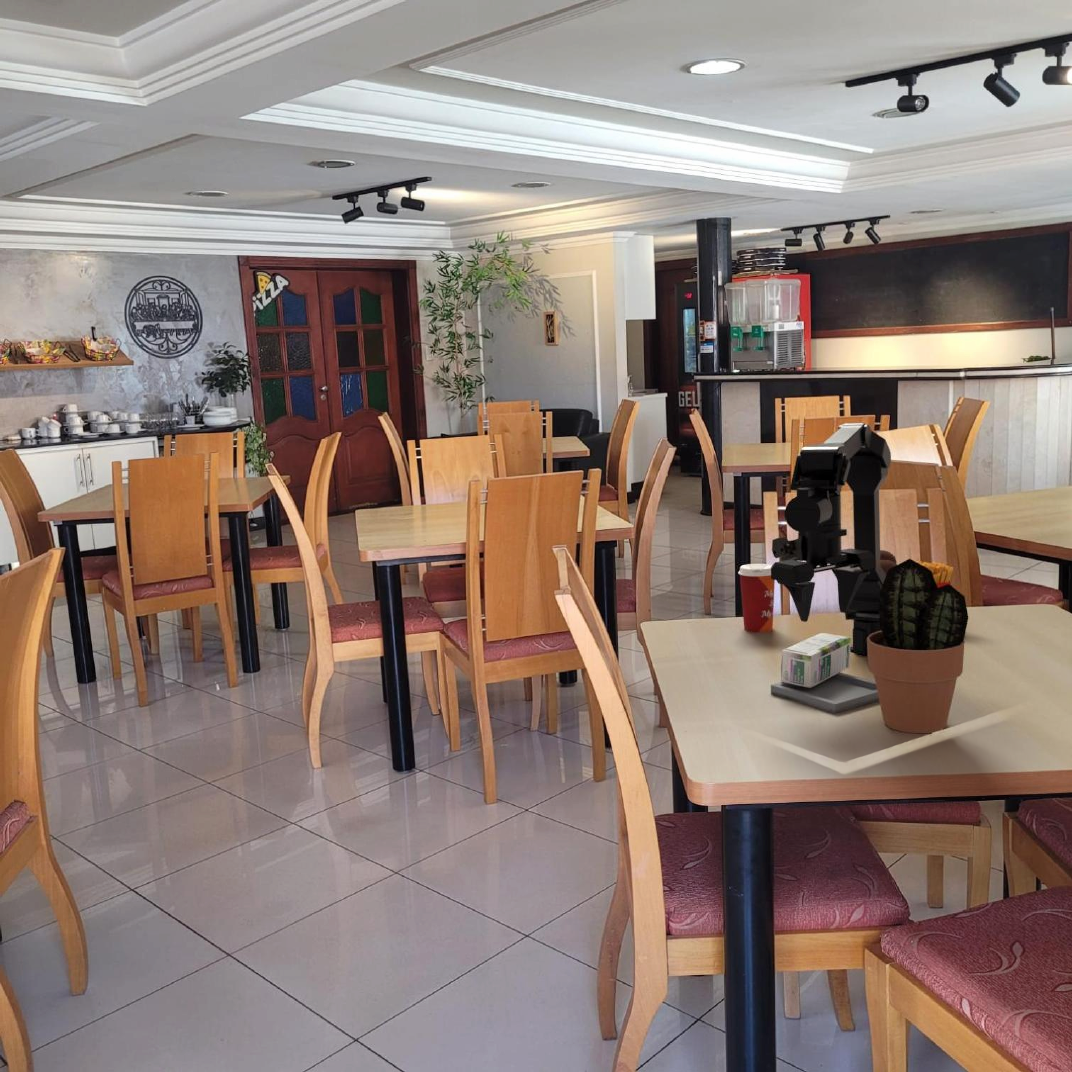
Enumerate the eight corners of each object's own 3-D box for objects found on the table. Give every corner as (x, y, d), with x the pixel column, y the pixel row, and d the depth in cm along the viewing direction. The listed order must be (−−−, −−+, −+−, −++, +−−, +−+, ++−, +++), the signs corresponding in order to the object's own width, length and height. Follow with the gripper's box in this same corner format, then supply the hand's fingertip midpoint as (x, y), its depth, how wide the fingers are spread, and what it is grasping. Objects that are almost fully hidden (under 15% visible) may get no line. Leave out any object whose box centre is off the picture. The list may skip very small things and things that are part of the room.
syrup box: (850, 668, 185) (811, 689, 174) (819, 662, 189) (779, 682, 178) (851, 636, 184) (812, 655, 173) (819, 631, 188) (780, 649, 177)
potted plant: (880, 740, 152) (880, 570, 149) (857, 711, 166) (856, 554, 162) (977, 737, 152) (979, 566, 148) (945, 708, 165) (946, 550, 162)
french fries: (899, 622, 219) (904, 561, 216) (905, 618, 222) (910, 557, 220) (945, 630, 214) (951, 567, 211) (950, 625, 217) (956, 563, 215)
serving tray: (829, 677, 184) (829, 669, 184) (894, 695, 173) (894, 686, 172) (770, 693, 177) (770, 684, 177) (835, 713, 165) (835, 704, 165)
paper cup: (777, 637, 214) (776, 569, 212) (739, 637, 216) (737, 570, 214) (777, 628, 222) (776, 562, 220) (739, 628, 223) (738, 563, 221)
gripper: (825, 513, 184) (825, 600, 186) (745, 525, 174) (747, 618, 176) (876, 518, 175) (876, 610, 177) (796, 532, 165) (797, 629, 167)
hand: (823, 616), depth 175 cm, fingers open, 9 cm apart
